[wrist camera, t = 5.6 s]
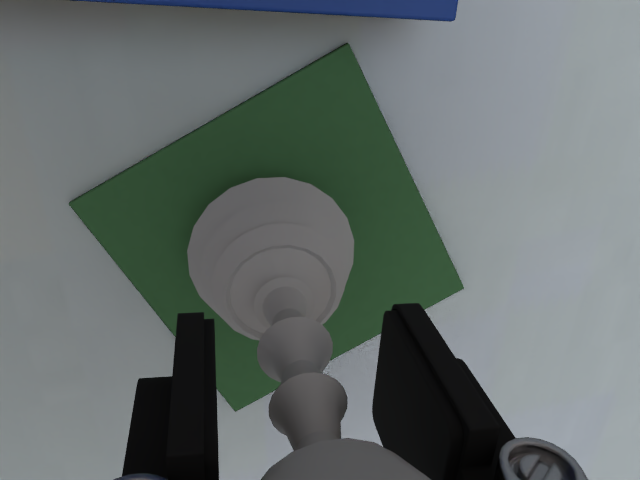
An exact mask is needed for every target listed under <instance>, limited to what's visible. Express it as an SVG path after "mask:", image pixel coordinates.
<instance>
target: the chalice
mask: <svg viewBox="0 0 640 480" xmlns="http://www.w3.org/2000/svg"><path fill="white" fill-rule="evenodd" d="M187 254H188V265H189V275H190V277H191V279H192V281H193V283H194V286H195V288H196V290H197V292H198V294H199V296H200V297H201V298H202V299H203V300H204V301H205V302H206V303H207V304H208V305H209V306H210V307H211V308H212V309H213V310H214V311H215V312H216V313H217V314H218V315H219V316H220V317H221V318H222V319H223V320H224V321H225V322H226V323H227V324H228V325H229V326H230V327H231V328H232V329H233V330H235V331H236V332H238V333H240V334H242V335H244V336H246V337H248V338H250V339H254V340H260V341H259V344H258V347H257V360H258V362H259V365H260V367H261V369H262V370H263V371H264V372H265V373H266V374H267V375H268V376H269V377H270V378H272V379H274V380H276V381H278V382H281V384H280V386H279V387H278V388H277V390H276V391H275V392H274V394H273V395H272V397H271V400H270V404H269V417H270V419H271V421H272V424H273V426H274V427H275V428H276V429H277V430H278V431H279V432H280V433H282V434H284V435H286V436H287V437H288V439H289V441H290V444H291V446H292V448H293V450H294V451H293V452H291V453H290V454H289V455H287V456H286V457H285V458H283V459H282V460H280V461H279V462H278V463H276V464H275V465H273V466H272V467H271V468H270V469H269V470H268V471H267V472H266V474H265V475H264V476H263V478H262V479H261V480H431V479H430V478H428V477H427V476H426V475H424V474H423V473H421V472H420V471H419V470H417V469H416V468H415V467H413V466H412V465H410V464H409V463H408V462H406V461H405V460H404V459H402V458H401V457H399V456H398V455H397V454H395V453H394V452H392V451H390V450H388V449H386V448H384V447H382V446H380V445H378V444H376V443H374V442H369V441H363V440H357V439H351V438H344V439H341V426H340V422H341V420H342V419H343V417H344V414H345V412H346V409H347V395H346V392H345V390H344V388H343V386H342V385H341V384H340V383H339V382H338V381H337V380H336V379H334V378H332V377H330V376H329V375H326V374H323V373H322V371H323V370H324V369H325V367H326V366H327V365H328V363H329V361H330V358H331V356H332V353H333V342H332V339H331V337H330V334H329V332H328V331H327V330H326V328H325V327H324V326H323V324H324V323H325V322H326V321H327V320H328V319H329V318H330V316H331V315H332V314H333V313H334V311H335V310H336V309H337V308H338V305H339V303H340V300H341V298H342V295H343V292H344V290H345V285H346V283H347V280H348V277H349V274H350V271H351V268H352V266H353V258H354V238H353V235H352V232H351V229H350V225H349V222H348V219H347V217H346V216H345V214H344V213H343V212H342V210H341V209H340V208H339V206H338V205H337V204H336V202H335V201H334V200H333V199H332V198H331V197H330V196H328V195H327V194H325V193H324V192H322V191H321V190H319V189H318V188H316V187H315V186H313V185H311V184H309V183H305V182H301V181H298V180H294V179H290V178H286V177H275V178H256V179H254V180H251V181H248V182H245V183H242V184H240V185H237V186H234V187H231V188H230V189H228V190H227V191H226V192H224V193H223V194H222V195H220V196H219V197H218V198H216V199H215V200H214V201H213V202H211V203H210V204H209V205H208V206H207V208H206V209H205V211H204V212H203V213H202V215H201V216H200V218H199V219H198V221H197V222H196V224H195V225H194V227H193V231H192V235H191V238H190V242H189V246H188V250H187Z"/></svg>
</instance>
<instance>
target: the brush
mask: <svg viewBox="0 0 640 480" xmlns="http://www.w3.org/2000/svg"><path fill="white" fill-rule="evenodd" d="M72 1H90V2H108V3H126V4H144V5H163V6H181V7H199V8H217V9H235V10H253V11H271V12H289V13H308V14H326V15H344V16H362V17H380V18H398V19H416V20H434V21H454V20H455V18H456V11H457V4H458V0H72Z"/></svg>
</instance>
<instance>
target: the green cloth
mask: <svg viewBox="0 0 640 480" xmlns="http://www.w3.org/2000/svg"><path fill="white" fill-rule="evenodd" d="M275 177H286V178H290V179H294V180H298V181H301V182H305V183H309V184H311V185H313V186H315V187H316V188H318V189H319V190H321V191H322V192H324V193H325V194H327V195H328V196H330V197H331V198H332V199H333V200H334V201H335V202H336V204H337V205H338V206H339V208H340V209H341V210H342V212H343V213H344V214H345V216H346V217H347V219H348V222H349V225H350V229H351V232H352V235H353V238H354V258H353V266H352V268H351V271H350V274H349V277H348V280H347V283H346V285H345V290H344V292H343V295H342V298H341V300H340V303H339V305H338V308H337V309H336V310H335V311H334V313H333V314H332V315H331V316H330V318H329V319H328V320H327V321H326V322H325V323H324V324H323V326H324V327H325V328H326V330H327V331H328V332H329V334H330V337H331V339H332V342H333V353H332V356H331V358H330V360H332V359H334V358H336V357H338V356H339V355H341V354H343V353H345V352H347V351H349V350H351V349H352V348H354V347H356V346H358V345H360V344H362V343H363V342H365V341H367V340H369V339H371V338H373V337H375V336H376V335H378V334H380V333H381V331H382V323H383V316H384V313H385V311H391V309H392V306H393V305H394V304H404V303H419V304H420V305H421V306H422V307H423V309H424V310H425V309H427V308H428V307H430V306H432V305H434V304H436V303H438V302H440V301H441V300H443V299H445V298H447V297H449V296H451V295H452V294H454V293H456V292H458V291H460V290H462V289H464V287H463V284H462V282H461V280H460V278H459V276H458V274H457V272H456V270H455V268H454V265H453V263H452V261H451V259H450V257H449V255H448V253H447V251H446V248H445V246H444V244H443V242H442V240H441V238H440V236H439V234H438V232H437V229H436V227H435V225H434V223H433V221H432V219H431V217H430V215H429V213H428V210H427V208H426V206H425V204H424V202H423V200H422V198H421V196H420V193H419V191H418V189H417V187H416V185H415V183H414V181H413V179H412V177H411V174H410V172H409V170H408V168H407V166H406V164H405V162H404V160H403V157H402V155H401V153H400V151H399V149H398V147H397V145H396V143H395V141H394V138H393V136H392V134H391V132H390V130H389V128H388V126H387V124H386V121H385V119H384V117H383V115H382V113H381V111H380V109H379V107H378V105H377V102H376V100H375V98H374V96H373V94H372V92H371V90H370V88H369V85H368V83H367V81H366V79H365V77H364V75H363V73H362V71H361V69H360V66H359V64H358V62H357V60H356V58H355V56H354V54H353V52H352V49H351V47H350V45H349V44H348V43H346V44H344V45H342V46H341V47H339V48H337V49H335V50H334V51H332V52H330V53H329V54H327V55H325V56H323V57H322V58H320V59H318V60H316V61H315V62H313V63H311V64H309V65H308V66H306V67H304V68H302V69H301V70H299V71H297V72H295V73H294V74H292V75H290V76H288V77H287V78H285V79H283V80H281V81H280V82H278V83H276V84H274V85H273V86H271V87H269V88H268V89H266V90H264V91H262V92H261V93H259V94H257V95H255V96H254V97H252V98H250V99H248V100H247V101H245V102H243V103H241V104H240V105H238V106H236V107H234V108H233V109H231V110H229V111H227V112H226V113H224V114H222V115H220V116H219V117H217V118H215V119H214V120H212V121H210V122H208V123H207V124H205V125H203V126H201V127H200V128H198V129H196V130H194V131H193V132H191V133H189V134H187V135H186V136H184V137H182V138H180V139H179V140H177V141H175V142H173V143H172V144H170V145H168V146H166V147H165V148H163V149H161V150H159V151H158V152H156V153H154V154H153V155H151V156H149V157H147V158H146V159H144V160H142V161H140V162H139V163H137V164H135V165H133V166H132V167H130V168H128V169H126V170H125V171H123V172H121V173H119V174H118V175H116V176H114V177H112V178H111V179H109V180H107V181H105V182H104V183H102V184H100V185H98V186H97V187H95V188H93V189H92V190H90V191H88V192H86V193H85V194H83V195H81V196H79V197H78V198H76V199H74V200H72V201H71V202H70V203H69V205H70V206H71V208H72V209H73V210H74V211H75V213H76V214H77V215H78V216H79V218H80V219H81V220H82V221H83V223H84V224H85V225H86V226H87V228H88V229H89V230H90V231H91V233H92V234H93V235H94V236H95V238H96V239H97V240H98V241H99V243H100V244H101V245H102V246H103V247H104V249H105V250H106V251H107V252H108V254H109V255H110V256H111V257H112V259H113V260H114V261H115V262H116V264H117V265H118V266H119V267H120V269H121V270H122V271H123V272H124V274H125V275H126V276H127V277H128V279H129V280H130V281H131V282H132V284H133V285H134V286H135V287H136V289H137V290H138V291H139V292H140V294H141V295H142V296H143V297H144V299H145V300H146V301H147V302H148V304H149V305H150V306H151V307H152V309H153V310H154V311H155V312H156V314H157V315H158V316H159V317H160V319H161V320H162V321H163V322H164V323H165V325H166V326H167V327H168V328H169V330H170V331H171V332H172V333H173V335H174V336H175V337H176V327H177V315H178V313H196V312H204V319H214V322H215V357H216V388H217V390H218V391H219V392H220V393H221V395H222V396H223V397H224V398H225V399H226V401H227V402H228V403H229V404H230V406H231V407H232V408H233V409H234V411H237V410H239V409H241V408H243V407H245V406H247V405H249V404H250V403H252V402H254V401H256V400H258V399H260V398H262V397H263V396H265V395H267V394H269V393H271V392H273V391H274V390H276V389H277V388H278V387H279V386H280V384H281V382H278V381H276V380H274V379H272V378H270V377H269V376H268V375H267V374H266V373H265V372H264V371H263V370H262V369H261V367H260V365H259V362H258V360H257V347H258V344H259V341H260V340H254V339H250V338H248V337H246V336H244V335H242V334H240V333H238V332H236V331H235V330H233V329H232V328H231V327H230V326H229V325H228V324H227V323H226V322H225V321H224V320H223V319H222V318H221V317H220V316H219V315H218V314H217V313H216V312H215V311H214V310H213V309H212V308H211V307H210V306H209V305H208V304H207V303H206V302H205V301H204V300H203V299H202V298H201V297H200V296H199V294H198V292H197V290H196V288H195V286H194V283H193V281H192V279H191V277H190V275H189V265H188V254H187V250H188V246H189V242H190V238H191V235H192V231H193V227H194V225H195V224H196V222H197V221H198V219H199V218H200V216H201V215H202V213H203V212H204V211H205V209H206V208H207V206H208V205H209V204H210V203H211V202H213V201H214V200H215V199H216V198H218V197H219V196H220V195H222V194H223V193H224V192H226V191H227V190H228V189H230V188H231V187H234V186H237V185H240V184H242V183H245V182H248V181H251V180H254V179H256V178H275Z"/></svg>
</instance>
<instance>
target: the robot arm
mask: <svg viewBox="0 0 640 480" xmlns="http://www.w3.org/2000/svg"><path fill="white" fill-rule="evenodd" d="M372 413H373V420H374V423H375V426H376V429H377V431H378V434H379V437H380V439H381V442H382V445H383V447H384V448H386V449H388V450H390V451H392V452H394V453H395V454H397V455H398V456H399V457H401V458H402V459H404V460H405V461H406V462H408V463H409V464H410V465H412V466H413V467H415V468H416V469H417V470H419V471H420V472H421V473H423V474H424V475H426V476H427V477H428V478H430V479H431V480H588V479H587V477H586V475H585V473H584V472H583V470H582V468H581V467H580V465H579V464H578V463H577V461H576V460H575V459H574V458H573V457H572V456H571V455H569V454H568V453H567V452H566V451H565V450H563V449H561V448H560V447H558V446H556V445H554V444H552V443H550V442H547V441H544V440H541V439H536V438H529V437H524V438H515V437H514V435H513V434H512V432H511V431H510V429H509V428H508V426H507V425H506V423H505V422H504V420H503V419H502V417H501V416H500V414H499V413H498V411H497V410H496V408H495V407H494V405H493V404H492V402H491V401H490V399H489V398H488V396H487V395H486V393H485V392H484V390H483V389H482V387H481V386H480V384H479V383H478V381H477V380H476V379H475V377H474V376H473V374H472V373H471V371H470V370H469V368H468V367H467V365H466V364H465V363H464V362H463V360H461V359H458V358H455V356H454V355H453V353H452V352H451V350H450V349H449V347H448V346H447V344H446V343H445V341H444V340H443V338H442V336H441V335H440V333H439V332H438V330H437V329H436V327H435V326H434V324H433V323H432V321H431V320H430V318H429V317H428V315H427V314H426V312H425V310H424V309H423V307H422V306H421V305H420V304H419V303H404V304H394V305H393V306H392V309H391V311H385V313H384V316H383V323H382V331H381V340H380V348H379V356H378V364H377V372H376V381H375V389H374V397H373V406H372ZM114 480H219V467H218V426H217V391H216V357H215V322H214V319H204V312H196V313H178V315H177V327H176V339H175V352H174V365H173V376H171V377H155V378H139V380H138V383H137V388H136V394H135V400H134V406H133V412H132V418H131V424H130V430H129V437H128V443H127V449H126V455H125V461H124V467H123V473H122V477H119V478H116V479H114Z"/></svg>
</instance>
